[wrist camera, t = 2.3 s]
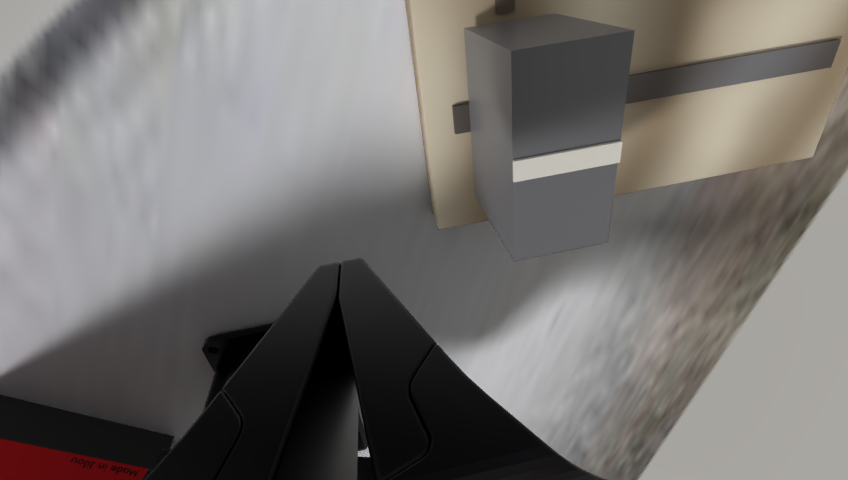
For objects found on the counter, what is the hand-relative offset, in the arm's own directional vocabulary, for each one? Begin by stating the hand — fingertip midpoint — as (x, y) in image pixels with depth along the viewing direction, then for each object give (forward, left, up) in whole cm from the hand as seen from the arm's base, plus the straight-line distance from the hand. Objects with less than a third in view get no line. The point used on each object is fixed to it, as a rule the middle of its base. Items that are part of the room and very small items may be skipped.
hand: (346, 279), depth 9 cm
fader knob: (+6, 0, -8) cm, 10 cm away
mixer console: (+12, 0, -10) cm, 15 cm away
